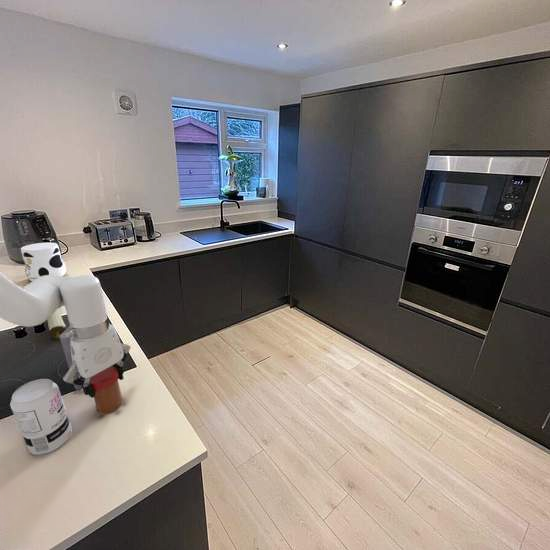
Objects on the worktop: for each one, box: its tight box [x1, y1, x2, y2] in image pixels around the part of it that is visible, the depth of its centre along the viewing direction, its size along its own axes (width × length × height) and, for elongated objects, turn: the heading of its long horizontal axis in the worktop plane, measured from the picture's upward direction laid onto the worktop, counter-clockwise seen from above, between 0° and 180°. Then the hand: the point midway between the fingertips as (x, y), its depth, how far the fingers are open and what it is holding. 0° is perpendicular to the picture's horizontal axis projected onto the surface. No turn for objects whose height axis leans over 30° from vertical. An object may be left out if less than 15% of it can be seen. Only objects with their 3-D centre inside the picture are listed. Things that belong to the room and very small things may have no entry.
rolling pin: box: [46, 307, 67, 340], centre depth 113 cm, size 32×6×5 cm, turn 38°
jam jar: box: [93, 379, 123, 415], centre depth 75 cm, size 6×6×10 cm
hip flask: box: [59, 326, 83, 391], centre depth 85 cm, size 16×4×20 cm, turn 15°
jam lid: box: [90, 366, 119, 390], centre depth 74 cm, size 7×7×2 cm
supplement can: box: [9, 378, 73, 455], centre depth 64 cm, size 8×8×15 cm
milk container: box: [20, 242, 67, 282], centre depth 152 cm, size 17×17×18 cm
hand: (105, 385), depth 75 cm, fingers closed on jam lid, 6 cm apart
